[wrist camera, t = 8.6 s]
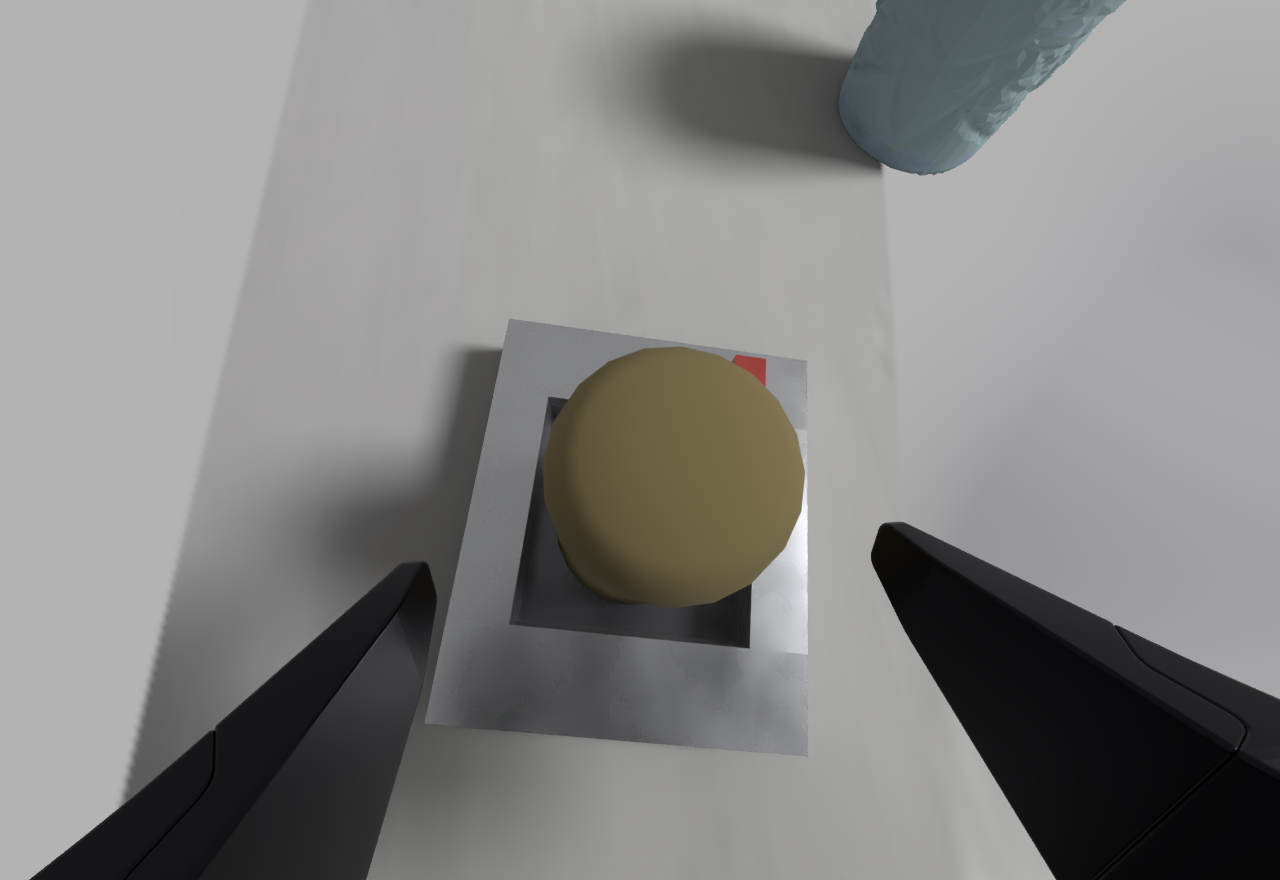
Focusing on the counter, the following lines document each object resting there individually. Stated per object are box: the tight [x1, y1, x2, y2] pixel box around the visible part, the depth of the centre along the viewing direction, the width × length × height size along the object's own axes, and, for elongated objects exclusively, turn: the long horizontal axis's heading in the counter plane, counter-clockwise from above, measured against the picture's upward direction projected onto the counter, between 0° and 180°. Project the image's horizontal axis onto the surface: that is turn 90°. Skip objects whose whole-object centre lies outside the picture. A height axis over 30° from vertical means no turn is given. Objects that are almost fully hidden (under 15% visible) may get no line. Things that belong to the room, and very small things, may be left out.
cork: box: [542, 346, 805, 608], centre depth 13 cm, size 6×6×11 cm
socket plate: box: [424, 319, 808, 757], centre depth 17 cm, size 14×12×3 cm
